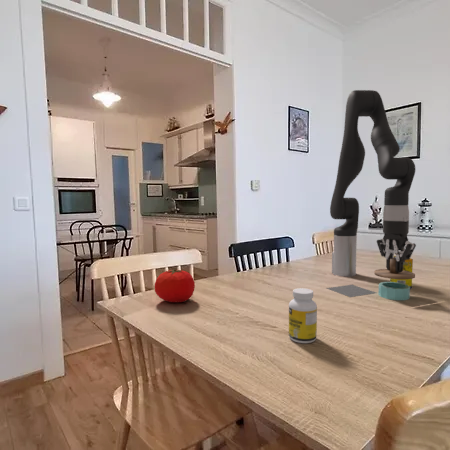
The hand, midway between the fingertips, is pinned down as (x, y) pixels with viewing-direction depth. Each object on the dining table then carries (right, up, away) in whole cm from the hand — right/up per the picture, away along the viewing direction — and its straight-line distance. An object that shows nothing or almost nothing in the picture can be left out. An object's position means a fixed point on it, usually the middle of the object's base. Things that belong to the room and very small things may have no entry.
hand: (394, 271), depth 109 cm
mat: (-11, -8, +8) cm, 16 cm away
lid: (0, -1, 0) cm, 1 cm away
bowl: (0, -9, +1) cm, 9 cm away
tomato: (-73, -10, -1) cm, 73 cm away
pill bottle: (-38, -12, -31) cm, 50 cm away
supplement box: (+10, -8, +14) cm, 19 cm away
